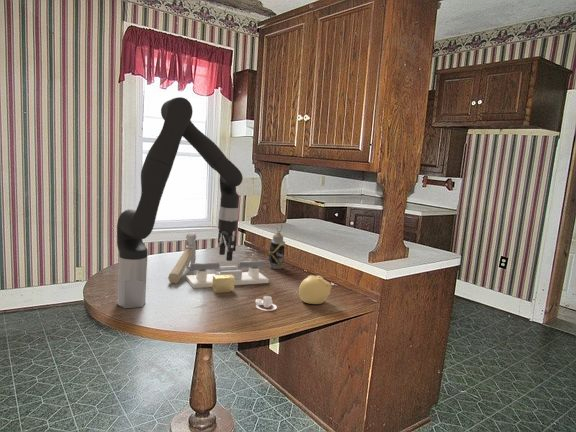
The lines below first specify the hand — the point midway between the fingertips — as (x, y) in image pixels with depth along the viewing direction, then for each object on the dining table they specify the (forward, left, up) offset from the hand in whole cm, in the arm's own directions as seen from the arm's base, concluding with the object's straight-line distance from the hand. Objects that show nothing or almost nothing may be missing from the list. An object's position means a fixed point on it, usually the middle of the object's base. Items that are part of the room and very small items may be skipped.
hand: (225, 257), depth 166 cm
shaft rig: (+11, -6, -14) cm, 18 cm away
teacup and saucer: (-18, -12, -15) cm, 26 cm away
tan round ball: (-20, -31, -14) cm, 40 cm away
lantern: (+27, -37, -14) cm, 48 cm away
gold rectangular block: (0, 0, -14) cm, 14 cm away
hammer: (+24, +11, -14) cm, 30 cm away
